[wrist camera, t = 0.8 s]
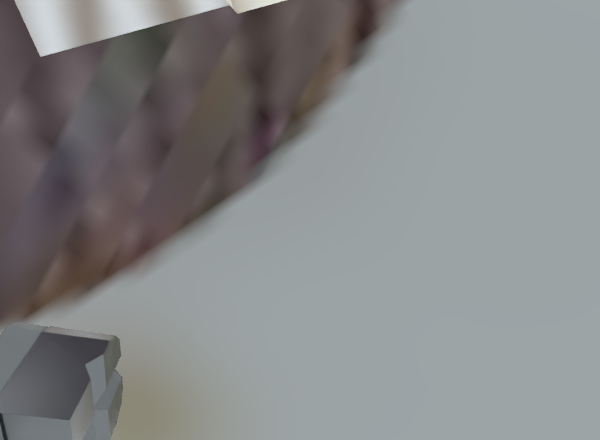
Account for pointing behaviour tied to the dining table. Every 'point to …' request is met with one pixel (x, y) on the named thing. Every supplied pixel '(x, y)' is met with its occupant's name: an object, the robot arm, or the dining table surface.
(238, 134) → the dining table surface
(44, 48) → the block
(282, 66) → the dining table surface
